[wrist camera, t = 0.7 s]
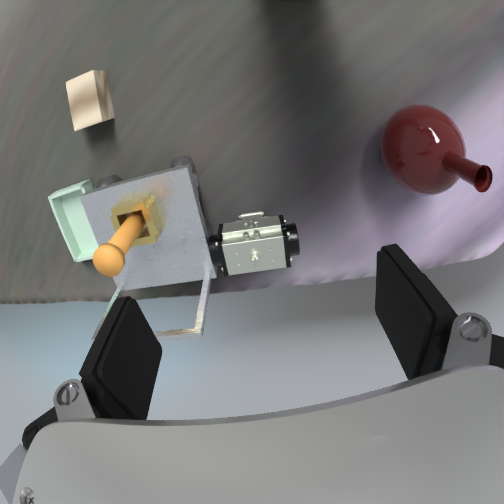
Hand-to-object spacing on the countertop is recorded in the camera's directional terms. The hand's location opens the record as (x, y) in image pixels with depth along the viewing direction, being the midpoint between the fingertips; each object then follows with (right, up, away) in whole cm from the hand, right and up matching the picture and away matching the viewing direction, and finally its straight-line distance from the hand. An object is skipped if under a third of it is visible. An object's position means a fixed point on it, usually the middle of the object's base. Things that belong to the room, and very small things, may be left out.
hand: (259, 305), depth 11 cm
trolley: (-15, +8, +35) cm, 39 cm away
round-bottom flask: (+24, +20, +29) cm, 43 cm away
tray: (-30, +8, +35) cm, 47 cm away
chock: (-24, +25, +25) cm, 43 cm away
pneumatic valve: (0, +7, +36) cm, 37 cm away
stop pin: (-15, +6, +26) cm, 30 cm away
